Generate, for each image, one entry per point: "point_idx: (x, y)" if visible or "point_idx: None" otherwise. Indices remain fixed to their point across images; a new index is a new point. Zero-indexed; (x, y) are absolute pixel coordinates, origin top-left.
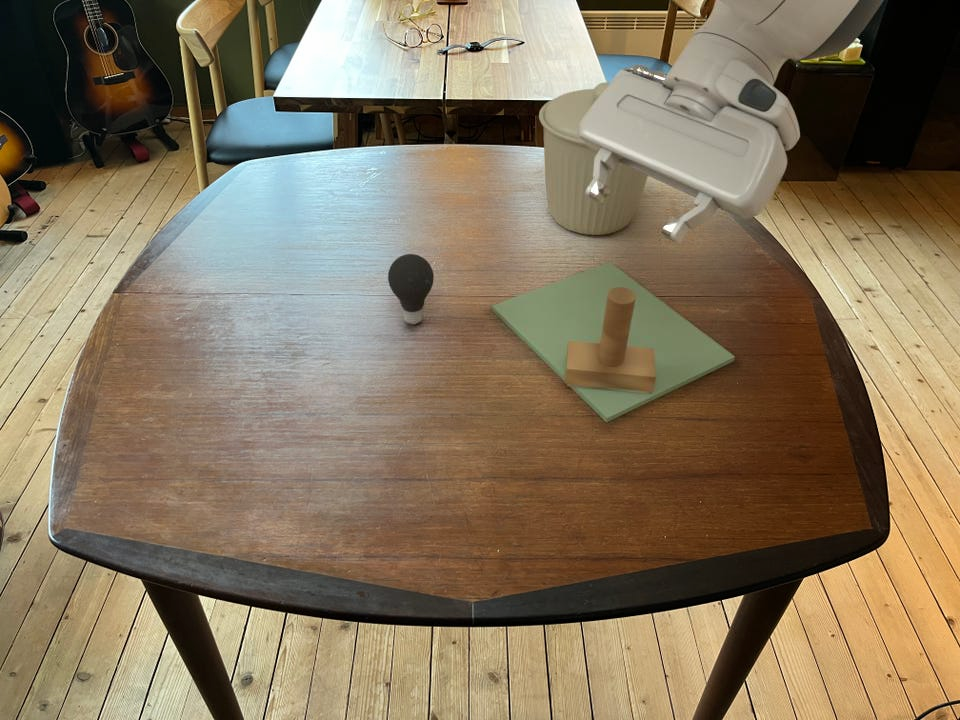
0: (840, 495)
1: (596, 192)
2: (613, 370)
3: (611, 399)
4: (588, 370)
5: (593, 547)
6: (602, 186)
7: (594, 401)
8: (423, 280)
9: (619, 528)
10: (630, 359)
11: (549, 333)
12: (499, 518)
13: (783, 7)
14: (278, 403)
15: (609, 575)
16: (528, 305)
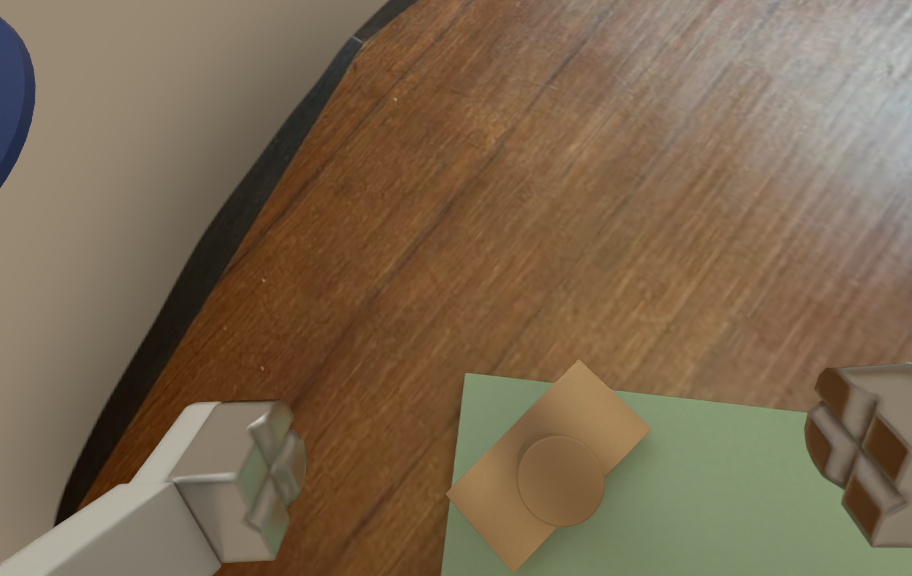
0: None
1: (870, 382)
2: (514, 434)
3: (494, 415)
4: (547, 391)
5: (318, 193)
6: (893, 426)
7: (509, 384)
8: None
9: (313, 240)
10: (518, 494)
11: (734, 463)
12: (431, 126)
13: None
14: None
15: (278, 183)
16: None
